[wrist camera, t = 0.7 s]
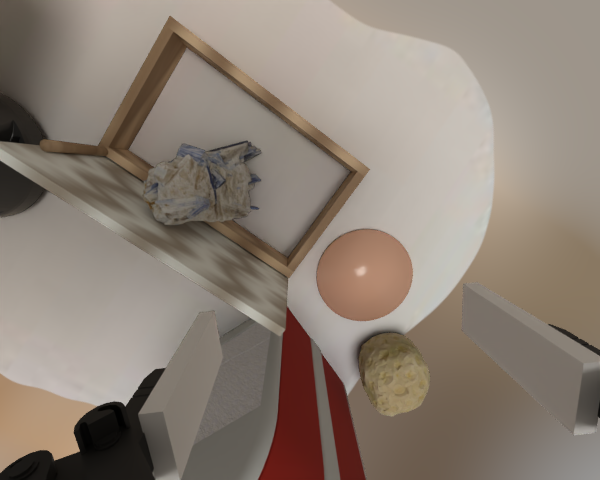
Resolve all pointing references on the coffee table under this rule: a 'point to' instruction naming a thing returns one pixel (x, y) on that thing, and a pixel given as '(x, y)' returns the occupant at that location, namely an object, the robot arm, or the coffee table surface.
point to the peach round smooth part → (364, 275)
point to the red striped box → (275, 412)
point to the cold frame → (193, 234)
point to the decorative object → (393, 373)
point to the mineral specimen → (202, 185)
